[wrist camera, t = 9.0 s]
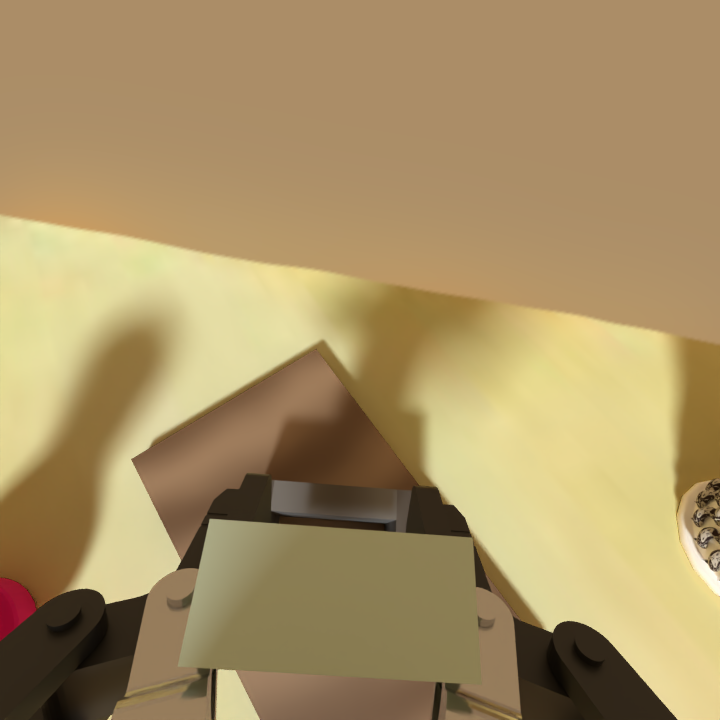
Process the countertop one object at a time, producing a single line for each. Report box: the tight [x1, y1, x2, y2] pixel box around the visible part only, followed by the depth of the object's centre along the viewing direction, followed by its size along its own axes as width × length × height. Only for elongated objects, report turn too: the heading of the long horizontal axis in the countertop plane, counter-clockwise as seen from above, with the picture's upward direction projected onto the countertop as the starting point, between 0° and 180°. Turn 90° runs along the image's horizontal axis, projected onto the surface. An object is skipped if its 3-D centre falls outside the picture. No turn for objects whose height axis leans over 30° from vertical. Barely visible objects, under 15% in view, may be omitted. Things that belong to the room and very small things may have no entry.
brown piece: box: [131, 349, 521, 720], centre depth 22 cm, size 14×24×6 cm, turn 36°
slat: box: [178, 519, 482, 685], centre depth 11 cm, size 4×2×11 cm, turn 86°
